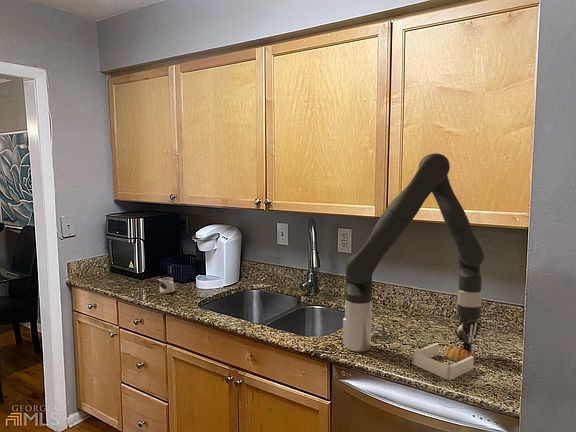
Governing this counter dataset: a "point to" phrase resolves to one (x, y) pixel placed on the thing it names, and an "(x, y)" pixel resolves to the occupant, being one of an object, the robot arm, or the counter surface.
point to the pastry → (458, 354)
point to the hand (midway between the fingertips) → (467, 352)
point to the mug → (166, 285)
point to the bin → (448, 372)
